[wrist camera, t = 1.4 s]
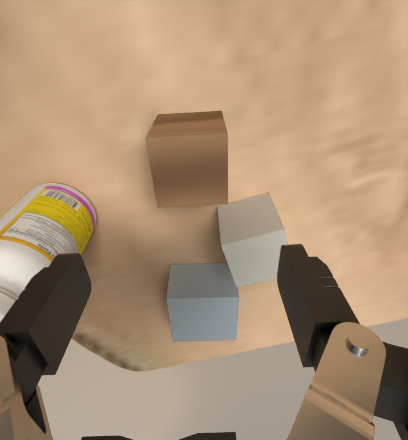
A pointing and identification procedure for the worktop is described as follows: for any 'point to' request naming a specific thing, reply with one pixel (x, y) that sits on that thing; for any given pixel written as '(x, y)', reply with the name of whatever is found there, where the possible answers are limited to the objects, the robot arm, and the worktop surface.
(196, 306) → the base block
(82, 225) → the supplement bottle
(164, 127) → the walnut block
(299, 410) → the robot arm
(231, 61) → the worktop surface
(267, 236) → the grey block
